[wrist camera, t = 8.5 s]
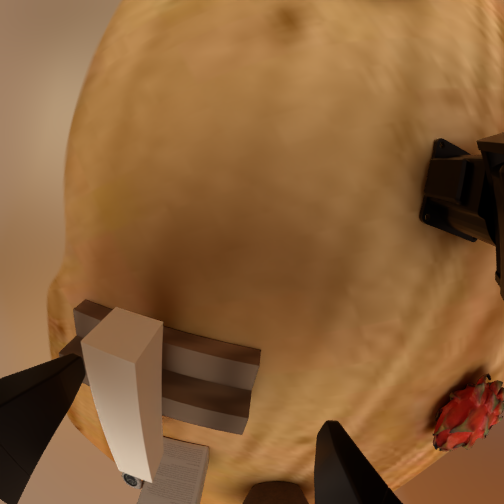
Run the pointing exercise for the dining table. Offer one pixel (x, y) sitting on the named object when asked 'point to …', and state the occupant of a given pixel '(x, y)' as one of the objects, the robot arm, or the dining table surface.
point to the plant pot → (275, 494)
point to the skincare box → (177, 475)
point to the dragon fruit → (469, 415)
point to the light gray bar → (128, 388)
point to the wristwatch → (133, 481)
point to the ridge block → (191, 374)
